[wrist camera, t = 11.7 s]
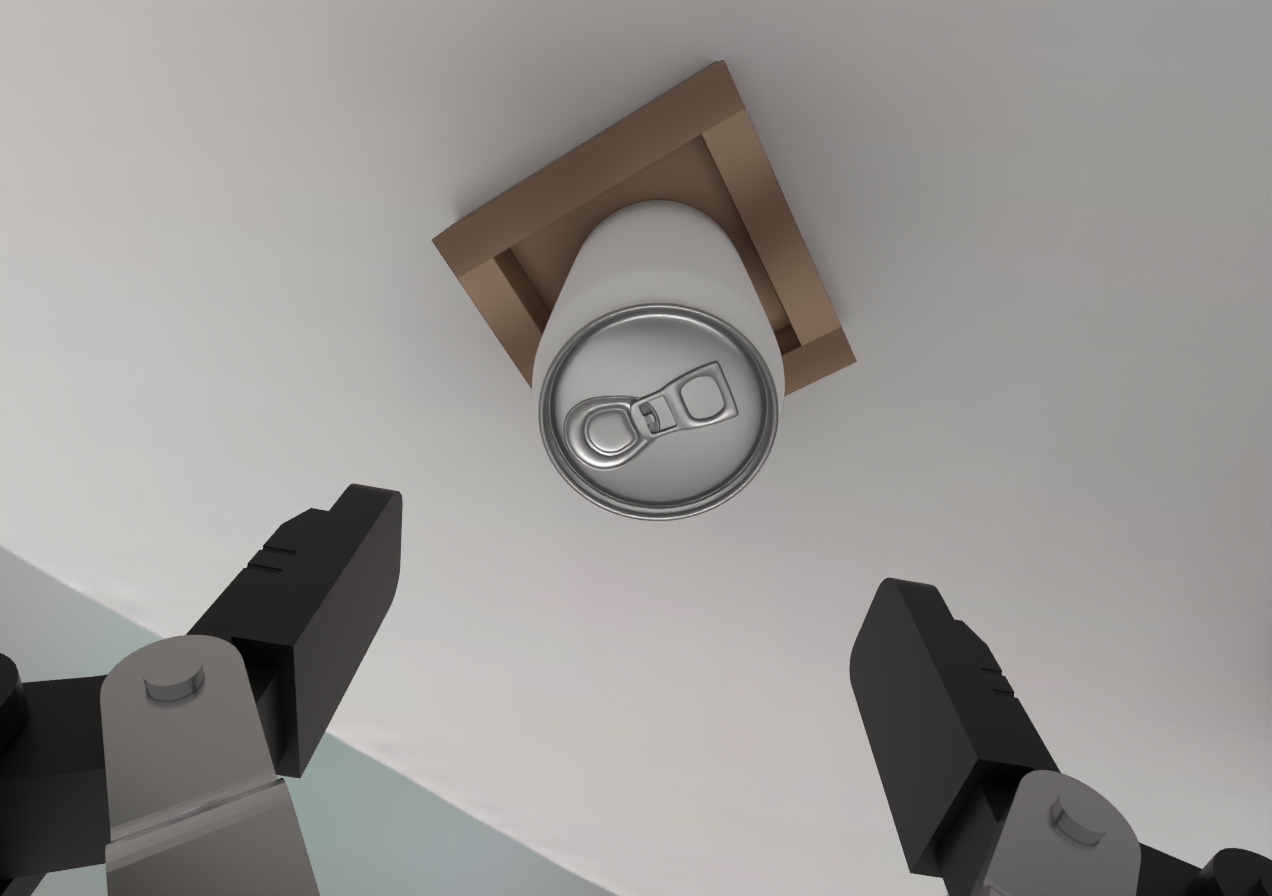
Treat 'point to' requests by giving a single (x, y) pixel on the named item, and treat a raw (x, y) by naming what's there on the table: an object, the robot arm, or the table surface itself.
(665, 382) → the can
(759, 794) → the table surface
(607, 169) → the tray
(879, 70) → the table surface
